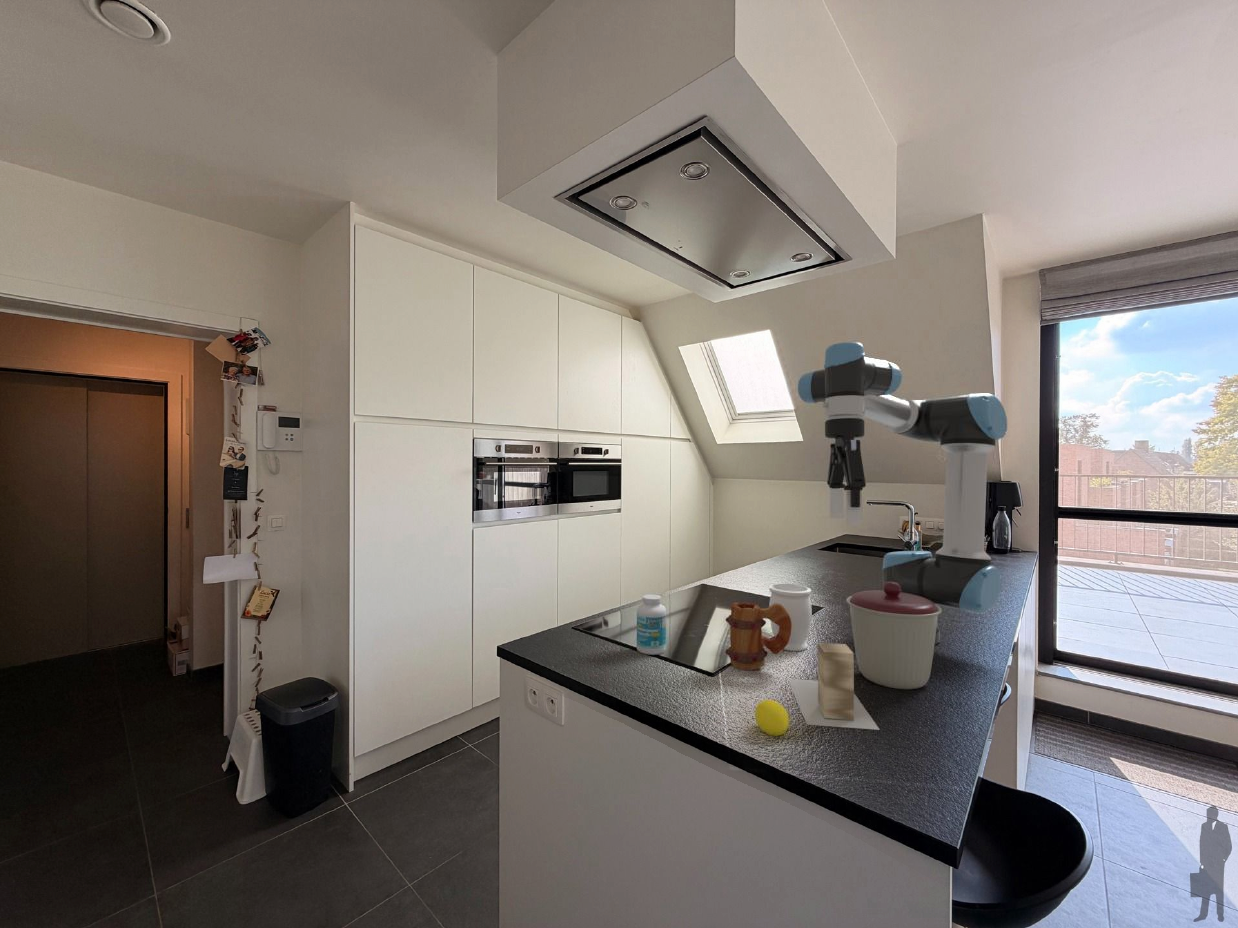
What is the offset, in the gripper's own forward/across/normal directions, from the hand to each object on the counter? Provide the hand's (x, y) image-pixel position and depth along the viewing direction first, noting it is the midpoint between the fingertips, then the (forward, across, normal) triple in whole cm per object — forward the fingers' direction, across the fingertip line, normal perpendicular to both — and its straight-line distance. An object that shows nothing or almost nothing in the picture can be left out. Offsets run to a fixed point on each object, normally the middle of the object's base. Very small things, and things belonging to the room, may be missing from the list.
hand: (844, 521), depth 106 cm
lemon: (+35, +21, -17) cm, 44 cm away
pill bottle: (+35, -16, -42) cm, 57 cm away
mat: (+35, +8, -5) cm, 36 cm away
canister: (+35, -7, +11) cm, 37 cm away
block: (+34, +12, -5) cm, 37 cm away
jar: (+35, -26, -7) cm, 44 cm away
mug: (+35, -8, -17) cm, 39 cm away
